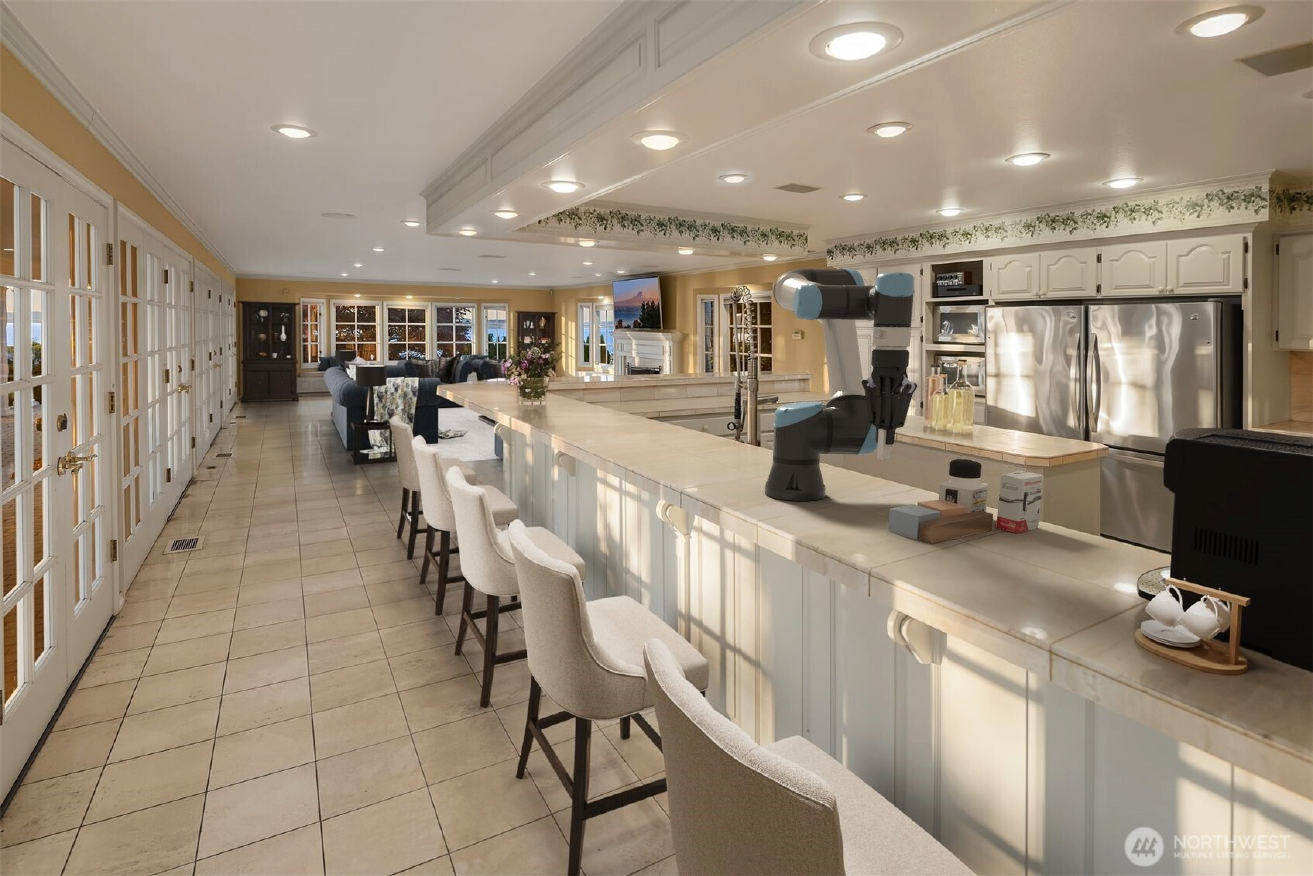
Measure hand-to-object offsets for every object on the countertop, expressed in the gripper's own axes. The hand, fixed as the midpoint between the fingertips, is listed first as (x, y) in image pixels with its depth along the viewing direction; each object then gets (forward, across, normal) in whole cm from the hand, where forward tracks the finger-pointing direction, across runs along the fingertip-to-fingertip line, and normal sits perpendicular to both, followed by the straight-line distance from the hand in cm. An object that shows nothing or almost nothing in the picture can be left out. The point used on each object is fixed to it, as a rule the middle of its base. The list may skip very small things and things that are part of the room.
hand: (883, 458), depth 152 cm
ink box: (+14, +18, +22) cm, 32 cm away
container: (+14, +6, +20) cm, 25 cm away
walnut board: (+14, +15, +6) cm, 21 cm away
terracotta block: (+14, +9, +9) cm, 19 cm away
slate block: (+14, +9, 0) cm, 17 cm away
